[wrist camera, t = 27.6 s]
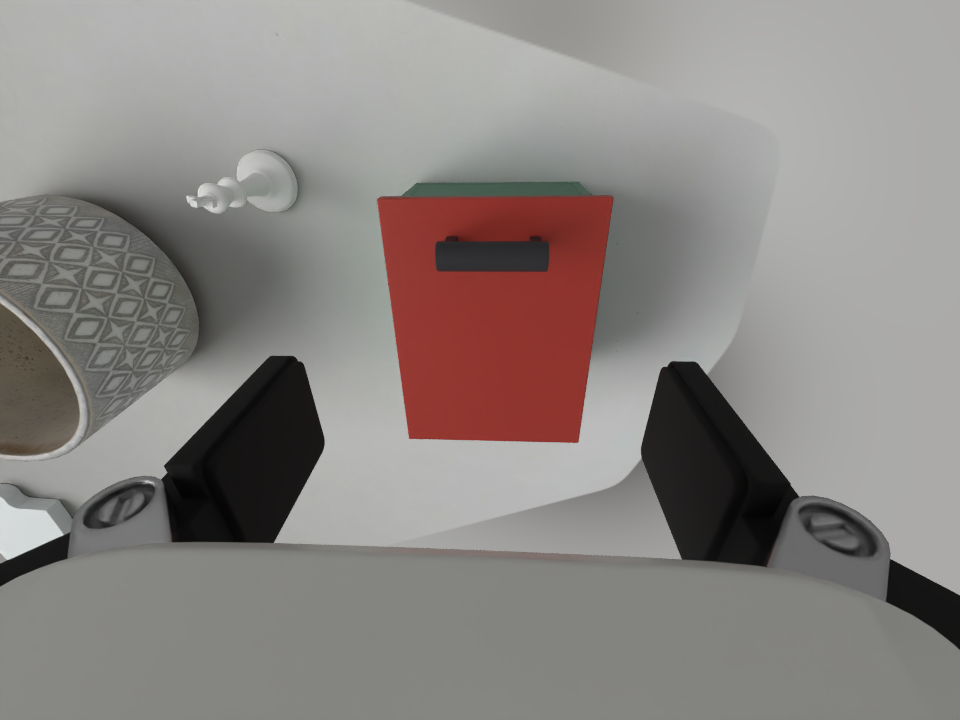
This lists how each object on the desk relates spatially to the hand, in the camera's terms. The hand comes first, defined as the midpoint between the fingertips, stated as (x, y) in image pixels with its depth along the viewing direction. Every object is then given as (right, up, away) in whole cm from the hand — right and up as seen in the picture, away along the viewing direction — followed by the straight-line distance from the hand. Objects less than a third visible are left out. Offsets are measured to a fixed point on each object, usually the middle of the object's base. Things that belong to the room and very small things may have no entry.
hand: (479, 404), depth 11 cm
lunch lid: (+1, +3, +18) cm, 18 cm away
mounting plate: (-67, -24, +52) cm, 88 cm away
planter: (-37, +8, +31) cm, 49 cm away
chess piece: (-18, +17, +24) cm, 35 cm away
